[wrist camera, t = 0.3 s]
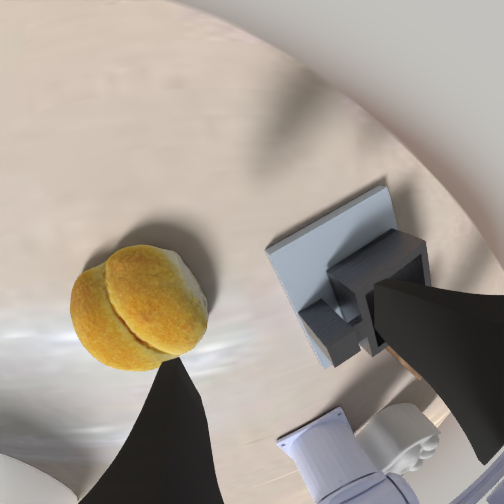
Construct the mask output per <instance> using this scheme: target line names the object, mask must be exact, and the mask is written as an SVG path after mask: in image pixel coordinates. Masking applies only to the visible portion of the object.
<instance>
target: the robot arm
mask: <svg viewBox="0 0 504 504" xmlns="http://www.w3.org/2000/svg"><path fill="white" fill-rule="evenodd" d="M374 328H375V329H376V330H377V332H378V333H379V334H380V336H381V337H382V338H383V339H384V341H385V342H386V343H387V344H388V345H389V346H390V347H391V348H392V349H393V350H394V351H395V352H396V353H397V354H398V355H399V356H400V357H401V358H402V359H403V360H404V361H405V362H407V363H408V364H409V365H410V366H411V367H412V368H413V369H414V370H415V371H416V372H417V373H418V374H419V375H421V376H422V377H423V378H424V379H425V380H426V381H427V382H428V383H429V384H430V385H431V387H432V388H433V389H434V390H435V391H436V393H437V394H438V395H439V396H440V398H441V399H442V400H443V401H444V403H445V404H446V405H447V407H448V408H449V410H450V411H451V412H452V414H453V415H454V417H455V418H456V420H457V421H458V423H459V424H460V426H461V428H462V429H463V431H464V432H465V434H466V436H467V438H468V440H469V441H470V443H471V445H472V447H473V449H474V451H475V453H476V456H477V458H478V460H479V461H480V462H481V463H482V464H483V465H486V464H487V463H488V462H489V461H490V460H491V459H492V458H493V457H494V455H495V454H496V453H497V452H498V451H499V450H500V449H501V448H502V447H503V446H504V295H483V294H471V293H463V292H457V291H450V290H445V289H440V288H435V287H430V286H425V285H420V284H416V283H411V282H406V281H401V280H396V279H388V278H386V279H384V280H381V281H379V282H377V283H375V284H374ZM276 443H277V445H278V446H279V447H280V448H281V449H282V450H283V451H284V452H285V453H286V454H288V455H289V456H290V457H291V458H292V459H293V460H294V461H295V464H296V466H297V468H298V470H299V472H300V474H301V476H302V478H303V480H304V482H305V484H306V486H307V488H308V490H309V492H310V494H311V496H312V498H313V500H314V502H315V504H419V501H418V499H417V496H416V494H415V493H414V491H413V490H412V488H411V487H410V485H409V484H408V483H407V482H406V480H405V479H404V478H403V477H402V476H401V475H399V474H397V473H392V472H389V473H387V474H384V473H383V471H382V470H379V471H378V470H377V469H376V467H375V466H374V464H373V463H372V462H371V460H370V459H369V457H368V456H367V454H366V453H365V452H364V450H363V449H362V447H361V446H360V444H359V443H358V441H357V440H356V439H355V436H354V433H353V431H352V429H351V427H350V425H349V423H348V420H347V418H346V416H345V414H344V412H343V410H342V408H341V407H337V408H336V409H334V410H332V411H331V412H329V413H327V414H326V415H324V416H322V417H320V418H319V419H317V420H315V421H313V422H312V423H310V424H308V425H306V426H304V427H302V428H301V429H299V430H297V431H295V432H293V433H291V434H289V435H287V436H285V437H283V438H281V439H279V440H277V442H276ZM503 476H504V452H503V453H502V454H501V455H500V457H498V458H497V460H496V461H495V462H494V463H493V464H492V465H491V466H490V467H489V468H488V469H487V470H486V471H485V472H484V473H483V474H482V475H481V476H480V477H479V478H478V479H477V480H476V481H475V482H474V483H473V484H472V485H470V486H469V487H468V488H467V489H466V490H465V491H464V492H462V494H460V495H459V496H458V497H457V498H456V499H454V500H453V501H452V502H451V503H449V504H476V503H477V502H478V501H479V500H480V499H481V498H482V497H483V496H484V495H485V494H486V493H487V492H488V491H489V490H490V489H491V488H492V487H493V486H494V485H495V484H496V483H497V482H498V481H499V480H500V479H501V478H502V477H503ZM487 502H488V503H489V504H504V480H502V481H501V482H500V483H499V484H498V486H497V487H496V488H495V489H494V490H493V491H492V493H491V494H490V495H489V496H488V497H487ZM78 504H224V502H223V499H222V496H221V493H220V490H219V487H218V483H217V478H216V474H215V468H214V462H213V456H212V450H211V443H210V436H209V430H208V423H207V419H206V415H205V411H204V407H203V404H202V400H201V396H200V395H199V393H198V391H197V389H196V388H195V386H194V384H193V382H192V380H191V378H190V377H189V375H188V373H187V371H186V369H185V367H184V365H183V363H182V362H181V360H180V358H179V357H177V358H174V359H170V360H167V361H163V362H162V363H161V365H160V367H159V370H158V372H157V375H156V377H155V380H154V382H153V384H152V387H151V389H150V392H149V394H148V396H147V399H146V401H145V403H144V405H143V408H142V410H141V412H140V414H139V416H138V418H137V420H136V422H135V424H134V426H133V428H132V430H131V432H130V434H129V436H128V438H127V440H126V442H125V443H124V445H123V447H122V448H121V450H120V451H119V453H118V455H117V456H116V458H115V459H114V461H113V462H112V464H111V465H110V466H109V468H108V469H107V470H106V472H105V473H104V474H103V475H102V477H101V478H100V479H99V481H98V482H97V483H96V485H95V486H94V487H93V488H92V489H91V490H90V491H89V493H88V494H87V495H86V496H85V497H84V498H83V499H82V500H81V501H80V502H79V503H78Z"/></svg>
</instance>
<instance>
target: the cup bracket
mask: <svg viewBox="0 0 504 504" xmlns="http://www.w3.org/2000/svg"><path fill="white" fill-rule="evenodd" d="M326 273H327V276H328V278H329V281H330V284H331V287H332V289H333V292H334V295H335V297H336V300H337V303H338V306H339V309H340V311H341V314H342V317H343V319H342V318H341V317H340V316H339V315H338V314H337V313H336V312H335V311H334V310H333V309H332V308H331V307H330V306H329V305H328V304H327V303H326V302H325V301H324V300H323V299H322V298H321V299H319V300H318V301H316V302H314V303H313V304H311V305H310V306H308V307H306V308H305V309H303V310H301V311H300V312H298V315H299V317H300V319H301V321H302V323H303V325H304V327H305V329H306V332H307V333H308V334H309V335H310V337H311V338H312V339H313V340H314V342H315V343H316V344H317V346H318V347H319V348H320V349H321V351H322V352H323V353H324V355H325V356H326V357H327V358H328V360H329V361H330V362H331V363H332V365H333V366H334V367H337V366H338V365H340V364H342V363H343V362H345V361H346V360H348V359H349V358H351V357H352V356H354V355H355V354H356V353H358V352H359V351H361V349H360V346H359V344H360V345H361V346H362V347H363V348H364V349H365V350H366V351H367V352H368V353H369V354H370V355H371V356H372V357H374V356H375V355H376V354H378V353H379V352H381V351H382V350H383V349H385V348H386V347H387V346H389V345H388V344H387V343H386V342H385V341H384V339H383V338H382V337H381V336H380V334H379V333H378V332H377V330H376V329H375V328H374V284H375V283H377V282H379V281H381V280H384V279H386V278H388V279H396V280H401V281H406V282H411V283H416V284H420V285H425V286H430V287H431V280H430V270H429V262H428V254H427V247H426V241H424V240H422V239H419V238H416V237H414V236H411V235H409V234H406V233H404V232H401V231H398V230H396V229H393V228H391V229H389V230H388V231H386V232H385V233H383V234H382V235H380V236H379V237H377V238H376V239H374V240H373V241H371V242H370V243H368V244H367V245H365V246H364V247H362V248H361V249H359V250H358V251H356V252H354V253H353V254H351V255H350V256H348V257H347V258H345V259H344V260H342V261H340V262H339V263H337V264H336V265H334V266H332V267H331V268H329V269H328V270H326Z"/></svg>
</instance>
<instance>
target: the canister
mask: <svg viewBox="0 0 504 504" xmlns="http://www.w3.org/2000/svg"><path fill="white" fill-rule="evenodd" d="M0 504H77V496H76V495H75V494H74V493H73V491H72V490H70V489H69V488H68V487H66V486H65V485H64V484H62V483H61V482H59V481H58V480H56V479H54V478H53V477H51V476H49V475H48V474H46V473H44V472H42V471H40V470H38V469H36V468H34V467H33V466H30V465H28V464H26V463H24V462H22V461H20V460H17V459H15V458H12V457H9V456H7V455H4V454H0Z"/></svg>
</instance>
